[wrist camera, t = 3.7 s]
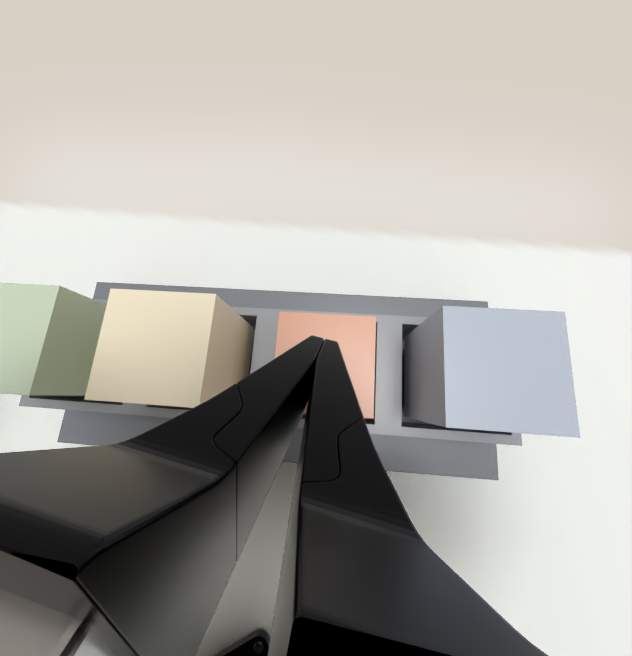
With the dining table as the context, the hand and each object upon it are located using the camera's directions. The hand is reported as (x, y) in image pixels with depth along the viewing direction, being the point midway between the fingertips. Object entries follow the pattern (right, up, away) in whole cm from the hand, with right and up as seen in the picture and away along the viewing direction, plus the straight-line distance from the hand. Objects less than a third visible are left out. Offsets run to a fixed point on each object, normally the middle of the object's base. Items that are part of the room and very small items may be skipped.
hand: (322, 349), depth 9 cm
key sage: (-12, -1, +7) cm, 14 cm away
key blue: (+6, -2, +6) cm, 9 cm away
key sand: (-6, -1, +7) cm, 9 cm away
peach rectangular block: (0, -2, +8) cm, 8 cm away
